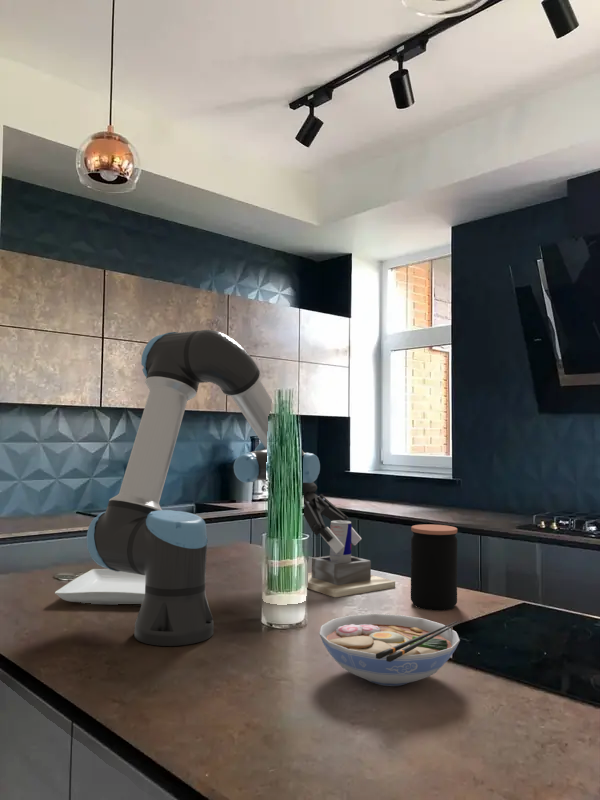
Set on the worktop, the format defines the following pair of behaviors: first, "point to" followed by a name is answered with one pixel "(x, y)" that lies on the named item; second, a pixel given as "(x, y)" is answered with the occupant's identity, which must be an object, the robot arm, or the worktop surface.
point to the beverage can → (342, 541)
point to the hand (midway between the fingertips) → (349, 546)
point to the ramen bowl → (389, 646)
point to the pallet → (344, 577)
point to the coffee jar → (434, 567)
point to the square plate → (105, 588)
